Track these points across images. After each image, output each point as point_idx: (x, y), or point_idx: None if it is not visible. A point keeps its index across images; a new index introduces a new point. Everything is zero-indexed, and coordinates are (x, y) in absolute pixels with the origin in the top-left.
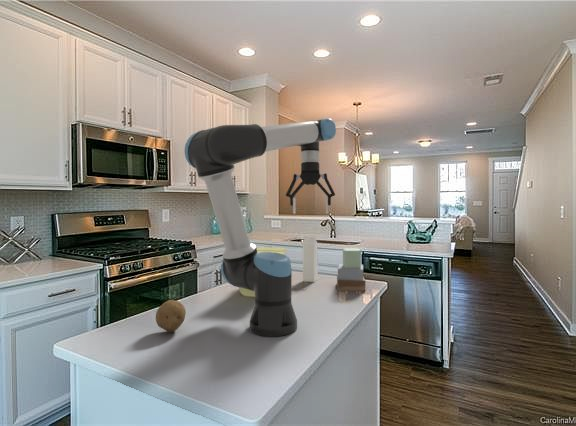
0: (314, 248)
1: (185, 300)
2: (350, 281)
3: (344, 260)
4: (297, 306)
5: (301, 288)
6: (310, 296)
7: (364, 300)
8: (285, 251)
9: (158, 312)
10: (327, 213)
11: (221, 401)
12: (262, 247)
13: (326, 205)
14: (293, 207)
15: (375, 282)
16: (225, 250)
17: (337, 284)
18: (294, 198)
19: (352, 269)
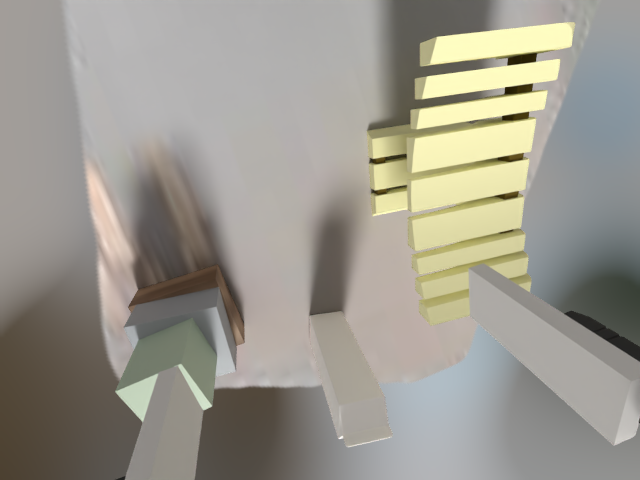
0: (334, 393)
1: (582, 22)
2: (176, 289)
3: (195, 344)
4: (274, 65)
5: (323, 245)
6: (272, 179)
7: (102, 196)
8: (423, 316)
9: None
10: (163, 371)
11: None
12: None
13: (151, 448)
14: (526, 295)
15: None
16: None
17: (229, 297)
18: (626, 375)
19: (163, 318)
